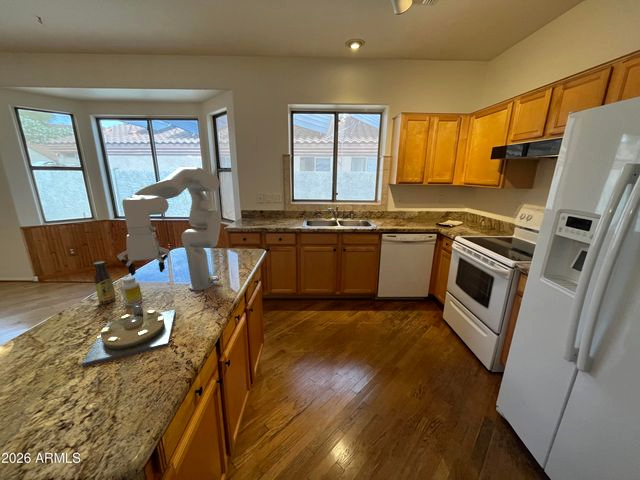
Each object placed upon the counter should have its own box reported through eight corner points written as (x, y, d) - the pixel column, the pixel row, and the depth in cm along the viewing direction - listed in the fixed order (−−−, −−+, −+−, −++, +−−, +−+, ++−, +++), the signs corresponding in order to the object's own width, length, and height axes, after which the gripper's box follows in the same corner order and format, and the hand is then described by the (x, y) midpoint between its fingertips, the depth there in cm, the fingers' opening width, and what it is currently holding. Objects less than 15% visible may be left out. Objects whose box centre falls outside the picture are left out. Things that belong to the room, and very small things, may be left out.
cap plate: (175, 312, 110) (175, 309, 110) (168, 346, 89) (167, 342, 89) (107, 326, 101) (106, 322, 101) (80, 367, 80) (79, 363, 79)
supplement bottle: (146, 301, 121) (140, 276, 117) (131, 307, 115) (125, 282, 111) (137, 298, 123) (132, 274, 120) (122, 304, 118) (116, 279, 114)
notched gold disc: (167, 313, 107) (164, 299, 105) (160, 339, 90) (157, 323, 88) (112, 324, 99) (108, 309, 98) (93, 355, 83) (88, 337, 81)
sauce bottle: (106, 305, 117) (96, 265, 112) (96, 304, 118) (85, 264, 113) (120, 298, 123) (110, 260, 118) (109, 297, 124) (100, 260, 119)
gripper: (168, 227, 101) (174, 266, 106) (116, 230, 95) (125, 272, 100) (164, 230, 95) (171, 273, 99) (108, 234, 89) (118, 279, 93)
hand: (148, 272), depth 99 cm, fingers open, 9 cm apart
